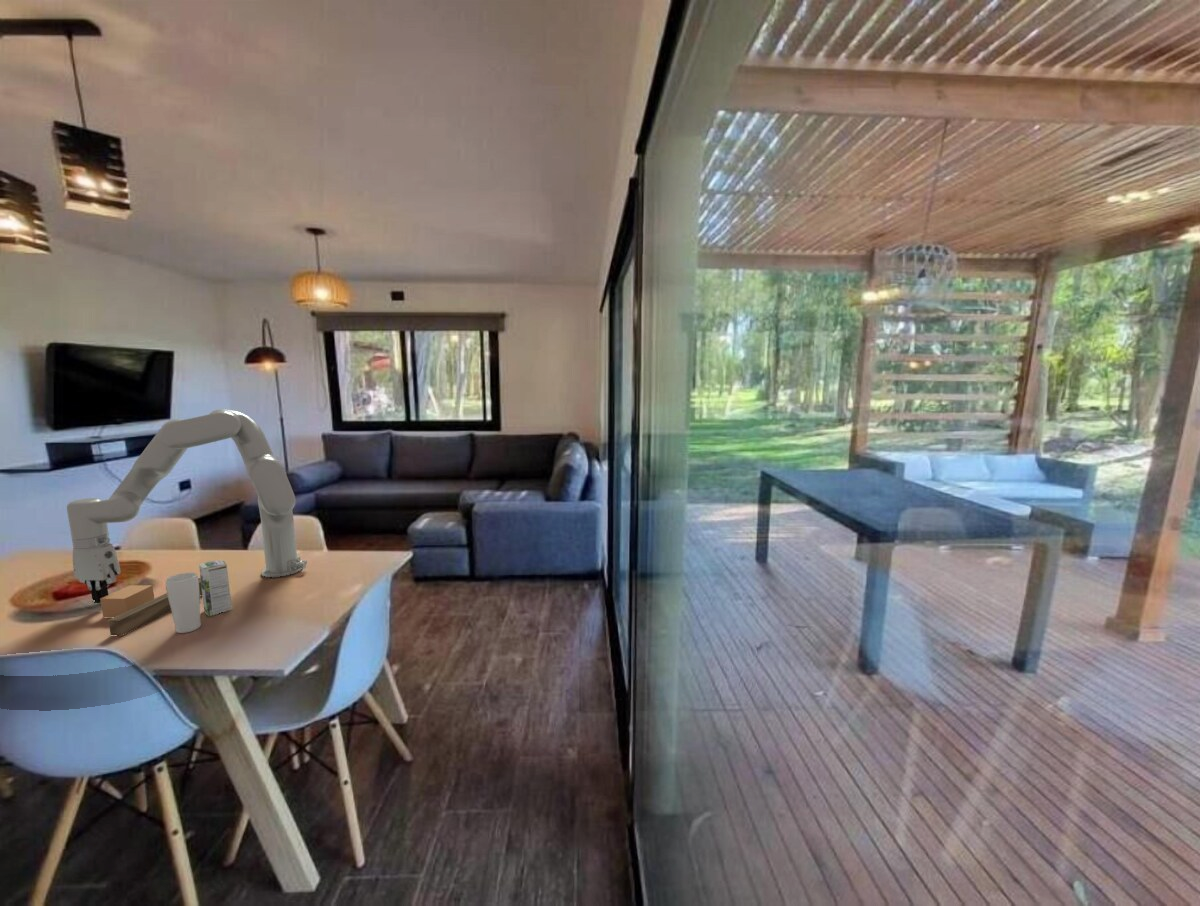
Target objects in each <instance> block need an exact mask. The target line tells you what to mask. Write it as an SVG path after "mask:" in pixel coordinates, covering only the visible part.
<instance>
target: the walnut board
mask: <svg viewBox="0 0 1200 906" xmlns="http://www.w3.org/2000/svg"><path fill="white" fill-rule="evenodd" d="M198 581H199V591H200V595H202V587H201V577H198ZM171 612H172V611H171V608H170V604H169V600H168V596H167V592H165V593H164V594H162V595H159V596H158V597H154V599H153V600H151V601H148V602H146V603H144V604H142V605H140V606H138V607H136V608H133V609H131V610H129V611H127V612H125V613H123V614H120V615H118V616H116V617H114V618H109V619H108V620H107V621H108V627H109V633H110V636H111V635H117V636H116V637H123V636H124V635H123V634H125V633H127V634H129V633H131V632H133V631H135V630H137V629H139V628H141V627H143V626H145V625H146V624H148V623H151V622H152V621H155V620H156V619H158V618H160V617H162V616H164V615H166V614H168V613H171ZM136 628H137V629H136ZM134 629H135V630H134ZM132 630H133V631H132ZM130 631H131V632H130ZM128 632H129V633H128ZM122 635H123V636H122ZM125 635H126V634H125Z"/></svg>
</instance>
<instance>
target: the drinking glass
mask: <svg viewBox="0 0 1200 906" xmlns="http://www.w3.org/2000/svg"><path fill="white" fill-rule="evenodd" d="M198 578H199V576H198V573H196V572H183V573H178V574H174V575H172V576H169V577H167V578H166V579H165V589H166V590H165V591H166V593H167V596H168V600H169V604H170V608H171V611H170V612H171V614H172V619H173V623H174V628H175V632H176V633H179V634H187V633H191V632H194V631H196V630H198V629H200V627H201V623H202V622H201V605H200V604H201V603H200V602H201V601H200V599H201V596H200V591H199V581H198Z"/></svg>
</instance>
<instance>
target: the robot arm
mask: <svg viewBox="0 0 1200 906" xmlns="http://www.w3.org/2000/svg"><path fill="white" fill-rule="evenodd" d="M227 439H231V440H232V441H233V442H234V443H235V445H236V448H237V449H238V451H239V454H240V455H241V459H242V461H243V464H244V466H245V469H246V473H247V475H248V477H249V479H250V481H251V482H252V485H253V487H254V489H255V491H256V494H257V505H258V509H259V510H258V511H259V516H260V517H259V518H260V523H261V533H262V545H263V553H264V564H265V567H264V568H262V570H261V571H260V574H261V576H262V577H264V576H265V577H264V578H270V577H272V578H281V577H280V576H282V577H287V576H291V575H293V574H296V573H298V571H299V572H300V571H302V570H303V569H305V568H306V567H307V565H308V560H301V556H300V555H298V550H297V541H296V531H295V530H296V529H295V519H294V513H293V511H294V510H293V509H294V507H295V506H296V496H295V493H294V490H293V488H292V485H291V483H290V481H289V478H288V475H287V473H286V471H285V468H284V467H283V464H282V463H281V462H280V461H279V459H277V458H276V457H275V455H274V453H273V451H272V449H271V446H270V444H269V442H268V440H267V437H266V436H265V434H264V431H263V430H262V428H261V427H260V426H259V424H258V423H257V422H256V421H255V420H253V419H252V418H251V417H250V416H249V415H246V414H244V413H242V412H240V411H237V410H232V409H226V408H225V409H224V408H219V409H215V410H213V411H211V412H210V413H209V414H205V415H200V416H196V417H191V418H190V417H189V418H186V419H179V418H175V419H170V420H168V421H166V422H165V423H164V424H163V425H162V426H161V427H160V429H159V430H158V431H157V432H156V433H155V435H154V436H153V438H152V439H151V441H150V442H149V443H148V444H147V446H146V447H145V448H144V450H143V451H142V453H140V455H139V456H138V458H137V459H136V460H135V461H134V463H133V465H132V467H131V469H130V470H129V472H128V473H127V475H126V476H125V477H124V478H123V480H122V481H121V483H119V485H118V486H117V488H116V489H115V490H114V492H113V493H112V494H111V495H110V497H109V498H108V499H103V500H102V499H101V498H95V497H94V498H91V497H90V498H82V499H76V500H73V501H70V502H68V504H67V505H66V513H67V518H68V524H69V529H70V536H71V542H72V570H73V574H74V576H75V579H77V580H78V581H79V583H81V584H82V583H83V584H85V585H86V586H87V588H88V590H89V591H90V594H91V600H92V599H93V600H95V602H94V603H93V604H101V601H100V598H103V597H105V596H107V595H109V589H108V588H109V586H110V585H111V584H113V583H115V582H117V578H116V576H119V575H120V574H121V567H120V562H119V561H120V560H119V559H118V555H117V552H116V550H115V548H114V545H113V543H111V539H110V535H109V528H108V524H109V523H114V524H115V523H117V524H118V523H125V522H129V521H132V520H133V519H135V518H136V517H137V516H138V514H139V513H140V509H141V506H142V504H143V503H144V501H145V500H147V497H148V496H149V495H150V494H151V492H152V491H153V489H154V488H155V487H156V485H158V483H159V482H160V481H162V480H163V479H165V478H166V477H167V476H168V475H169V474H170V473H171V471H172V470H173V469H174V468H175V466H176V464H178V462H179V461H180V460H181V457H182V456H183V455H185V452H186V451H188V449H189V448H195V447H198V446H202V445H203V446H204V445H206V444H211V443H216V442H218V441H219V442H220V441H224V440H227ZM301 569H302V570H301ZM290 574H291V575H290ZM286 575H287V576H286Z"/></svg>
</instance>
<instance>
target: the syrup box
mask: <svg viewBox="0 0 1200 906" xmlns="http://www.w3.org/2000/svg"><path fill="white" fill-rule="evenodd" d="M198 566H199V573H200V574H199V575H200V577H199V578H201V587H202V596H201V597H202V603H203V604H202V605H203V611H204V613H205V614H206V616H207V617H212V616H211V615H213V616H215V614H216V615H218V614H219V613H220V614H222V613H221V612H223V613H225V612H224V611H226V612H228V611H227V610H229V611H232V610H231V609H232V601H231V600H232V599H231V590H230V583H229V582H230V581H229V572H228V564H227V563H226V562H225V561H224V560H223V559H217V560H216V559H215V560H211V561H206V562H203V563H199V565H198ZM220 614H219V615H220Z"/></svg>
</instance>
